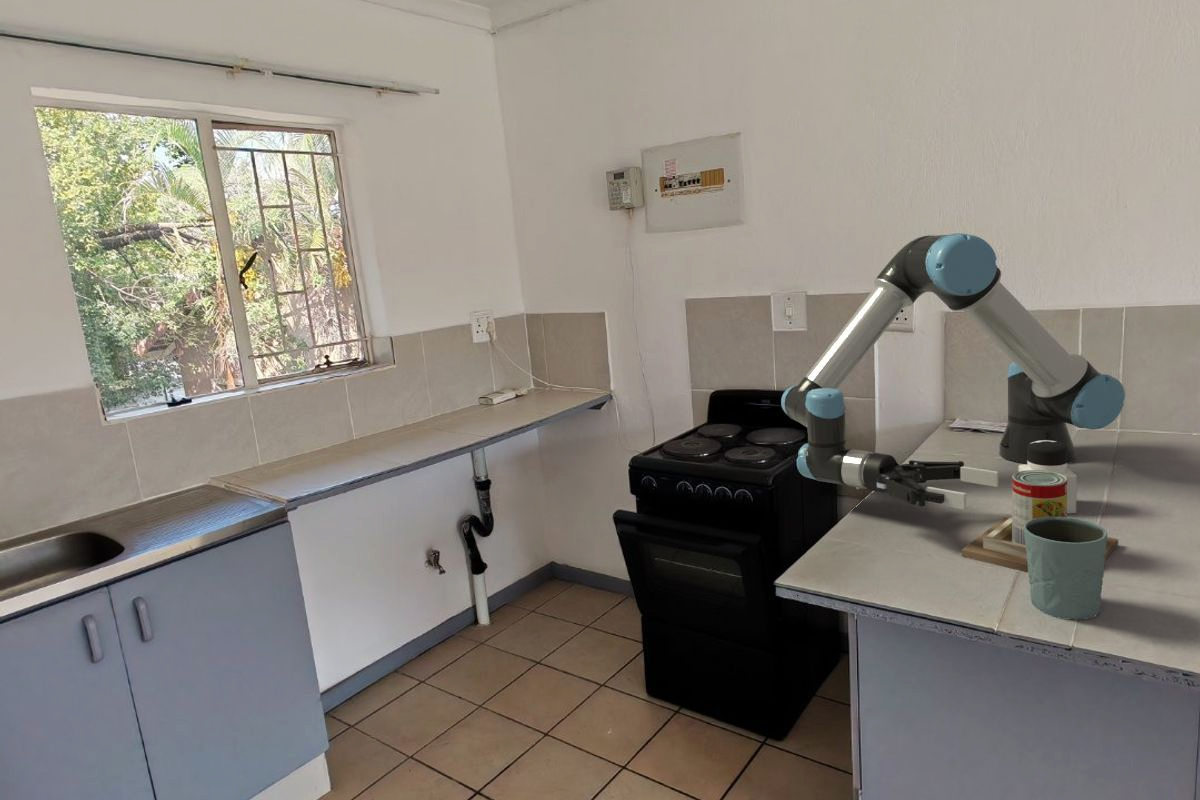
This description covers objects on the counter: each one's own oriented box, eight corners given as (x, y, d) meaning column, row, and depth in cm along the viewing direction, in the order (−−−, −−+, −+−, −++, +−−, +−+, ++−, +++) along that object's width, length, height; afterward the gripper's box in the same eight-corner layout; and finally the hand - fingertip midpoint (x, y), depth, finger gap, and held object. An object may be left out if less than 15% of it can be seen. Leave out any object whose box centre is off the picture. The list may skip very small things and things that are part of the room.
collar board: (1004, 523, 138) (1004, 508, 137) (1118, 545, 124) (1118, 529, 123) (961, 556, 126) (961, 539, 126) (1081, 584, 113) (1082, 566, 112)
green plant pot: (1113, 625, 101) (1116, 544, 99) (1030, 619, 105) (1031, 541, 103) (1093, 591, 111) (1096, 516, 108) (1017, 587, 114) (1018, 514, 112)
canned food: (1077, 547, 122) (1079, 478, 120) (1040, 557, 120) (1041, 488, 118) (1037, 531, 130) (1037, 467, 127) (1001, 541, 128) (1001, 475, 125)
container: (1076, 514, 138) (1078, 447, 136) (1031, 515, 140) (1032, 449, 137) (1060, 499, 146) (1061, 436, 143) (1017, 501, 147) (1018, 438, 145)
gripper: (902, 472, 155) (1009, 489, 139) (837, 507, 139) (950, 532, 123) (901, 437, 153) (1010, 451, 137) (835, 470, 138) (949, 490, 122)
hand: (982, 490), depth 130 cm, fingers open, 13 cm apart
